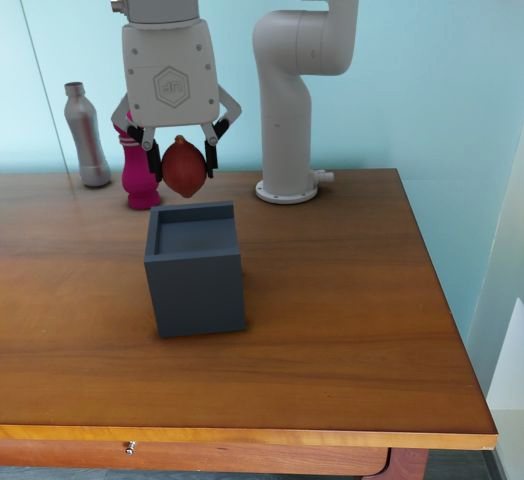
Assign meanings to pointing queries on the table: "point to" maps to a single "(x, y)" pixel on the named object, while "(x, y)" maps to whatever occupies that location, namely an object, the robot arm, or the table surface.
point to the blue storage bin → (194, 269)
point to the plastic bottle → (86, 136)
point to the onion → (183, 167)
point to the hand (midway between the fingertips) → (185, 175)
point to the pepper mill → (137, 173)
